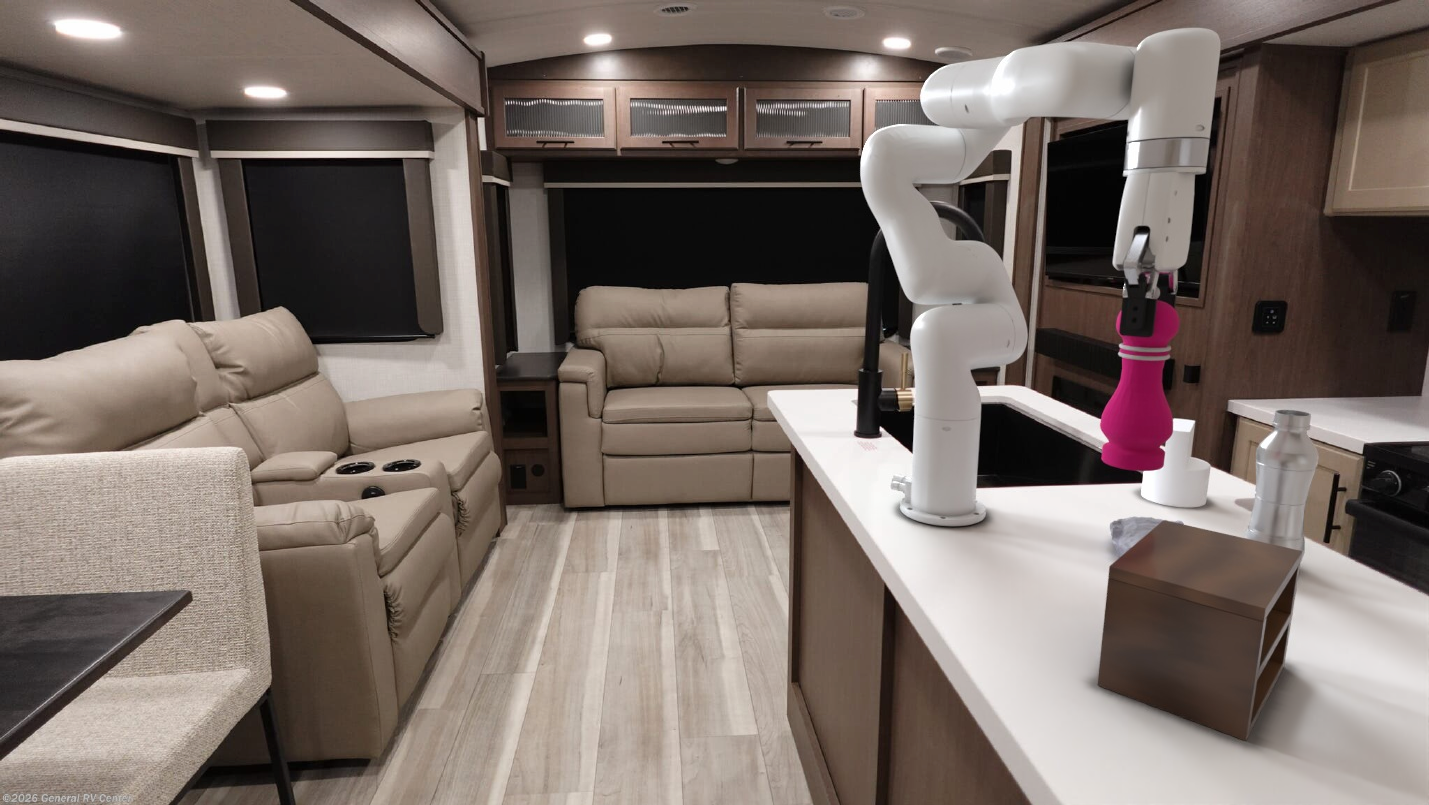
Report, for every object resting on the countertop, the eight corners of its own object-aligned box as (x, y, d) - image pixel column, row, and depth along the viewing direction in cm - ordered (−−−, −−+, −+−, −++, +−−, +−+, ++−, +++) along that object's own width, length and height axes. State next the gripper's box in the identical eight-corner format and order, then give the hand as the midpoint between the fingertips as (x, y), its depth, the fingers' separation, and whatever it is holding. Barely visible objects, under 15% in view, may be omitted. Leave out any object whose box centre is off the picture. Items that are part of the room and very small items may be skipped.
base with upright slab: (1145, 485, 131) (1153, 415, 128) (1208, 495, 126) (1217, 422, 123) (1137, 500, 124) (1144, 427, 121) (1203, 511, 119) (1213, 435, 116)
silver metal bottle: (1235, 566, 99) (1256, 414, 95) (1245, 550, 104) (1266, 404, 100) (1297, 581, 95) (1322, 422, 91) (1305, 564, 100) (1329, 412, 96)
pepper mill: (1167, 476, 83) (1189, 288, 79) (1092, 466, 87) (1110, 286, 83) (1169, 459, 89) (1191, 283, 85) (1100, 451, 93) (1117, 281, 89)
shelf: (1097, 685, 74) (1109, 566, 72) (1151, 625, 85) (1163, 519, 83) (1245, 741, 66) (1265, 608, 63) (1284, 666, 77) (1302, 550, 74)
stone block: (1127, 584, 99) (1215, 575, 96) (1122, 548, 98) (1210, 538, 96) (1102, 550, 110) (1180, 542, 108) (1097, 518, 109) (1175, 508, 107)
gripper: (1151, 166, 90) (1134, 323, 94) (1097, 158, 78) (1080, 338, 82) (1227, 162, 85) (1206, 327, 88) (1181, 153, 73) (1159, 345, 77)
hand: (1146, 331), depth 85 cm, fingers closed on pepper mill, 6 cm apart
